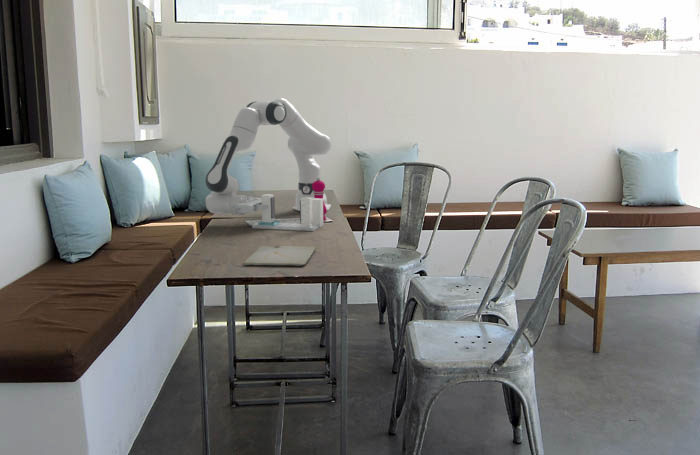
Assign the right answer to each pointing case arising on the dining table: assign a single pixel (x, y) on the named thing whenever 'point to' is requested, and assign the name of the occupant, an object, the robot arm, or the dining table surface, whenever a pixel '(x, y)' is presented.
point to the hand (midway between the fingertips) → (269, 206)
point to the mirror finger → (318, 211)
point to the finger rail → (305, 224)
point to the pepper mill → (319, 193)
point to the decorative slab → (280, 255)
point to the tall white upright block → (270, 212)
